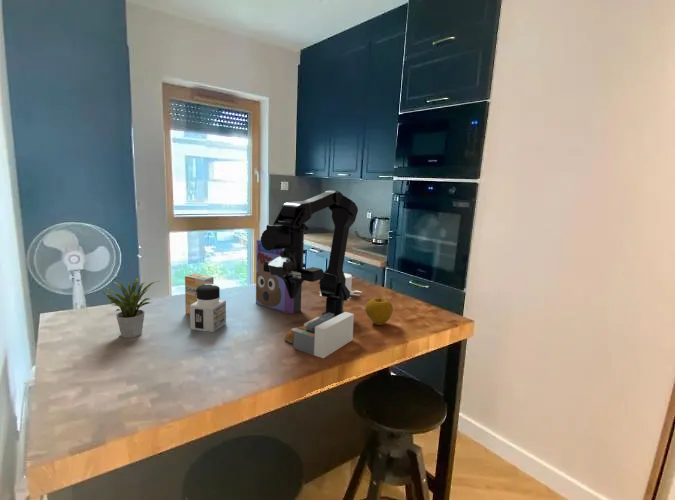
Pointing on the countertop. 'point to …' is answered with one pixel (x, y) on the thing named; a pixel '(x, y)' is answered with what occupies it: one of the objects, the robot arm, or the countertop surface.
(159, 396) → the countertop surface
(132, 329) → the house plant
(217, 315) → the container
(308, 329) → the gauge pad
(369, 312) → the apple
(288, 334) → the pastry
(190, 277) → the supplement box
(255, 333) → the countertop surface
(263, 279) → the cereal box
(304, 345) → the white grey open box
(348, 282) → the white wide pronged piece
